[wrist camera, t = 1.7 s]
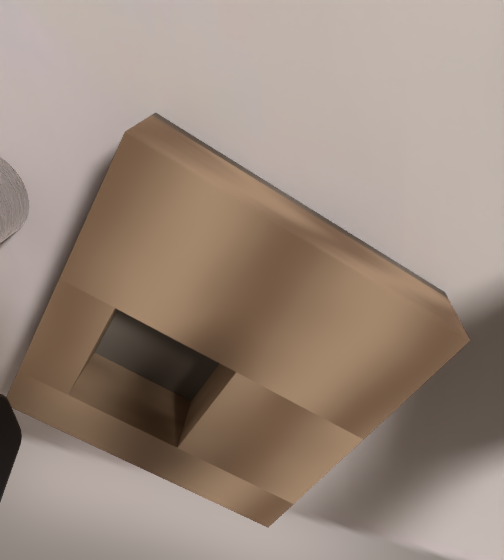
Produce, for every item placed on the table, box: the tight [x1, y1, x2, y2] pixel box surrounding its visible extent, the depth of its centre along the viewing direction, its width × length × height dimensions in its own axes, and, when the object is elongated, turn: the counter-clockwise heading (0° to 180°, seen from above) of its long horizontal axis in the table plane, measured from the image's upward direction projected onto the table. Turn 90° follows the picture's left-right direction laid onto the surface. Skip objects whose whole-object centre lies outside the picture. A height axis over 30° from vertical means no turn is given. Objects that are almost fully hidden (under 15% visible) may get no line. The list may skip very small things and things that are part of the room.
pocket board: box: [7, 113, 470, 527], centre depth 21 cm, size 14×14×4 cm
